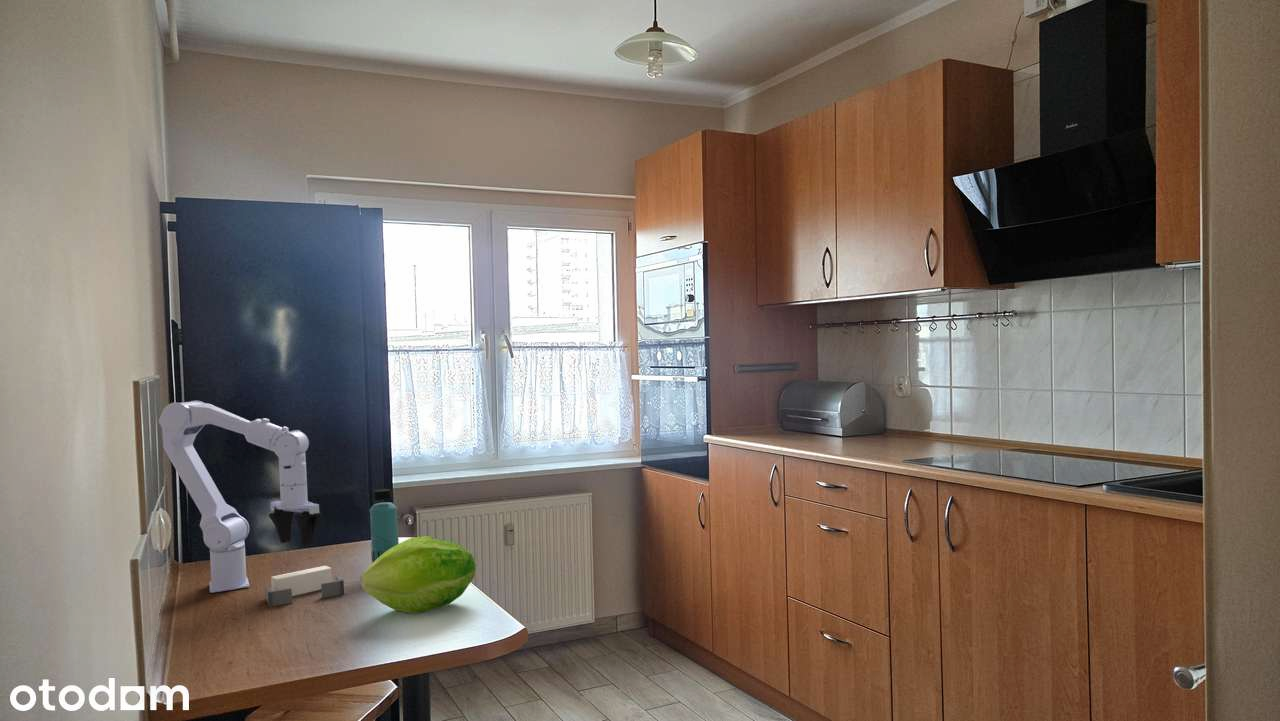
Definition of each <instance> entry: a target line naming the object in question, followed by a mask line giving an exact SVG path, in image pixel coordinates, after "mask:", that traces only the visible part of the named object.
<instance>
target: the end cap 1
mask: <svg viewBox="0 0 1280 721" xmlns="http://www.w3.org/2000/svg"><path fill="white" fill-rule="evenodd" d="M265 590H266V591H265V593H266V594H265V596H266V602H267V605H268V608H270V607H276V606H277V607H278V606H282V605H283V606H284V605H289V604H292V603H293V596H292V589H291V588H288V589H282V590H276V591H272V589H271V585H266V586H265Z"/></svg>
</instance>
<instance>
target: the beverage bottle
mask: <svg viewBox="0 0 1280 721" xmlns="http://www.w3.org/2000/svg"><path fill="white" fill-rule="evenodd" d="M392 498H393V496H392V490H391V489H389V488H382V489H376V490H374V491H373V500H374V501H380V500H381V501H382V500H383V501H384V500H389V499H392ZM397 509H398V507H397V505H395V504H394V503H393V502H378V503H374V504H373V505H372V506H371V507H370V509H369V516H370V521H369V522H370V523H369V525H370V526H369V528H370V529H369V530H370V540H371V543H370V545H371V550H370V551H371V552H370V553H371V555H370V556H371V562H372V563H373V562H374V561H375V560H376V559H377V558H379V557H380V556H381V555H382V554H383V553H385V552H386V551H387V550H389V549H390V548H392V547H394V546H396V545H397V544H399V543H400V541H399V530H398V529H399V527H398V514H397V513H398V510H397ZM372 563H371V564H372Z"/></svg>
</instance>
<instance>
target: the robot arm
mask: <svg viewBox="0 0 1280 721" xmlns="http://www.w3.org/2000/svg"><path fill="white" fill-rule="evenodd" d="M158 421H159V422H158V423H159V425H160V427H161V429H162V432H161V433H162V445H163V449H164V451H165V454H166V455H167V457H168V459H169V460H170V462H171V463H172V465H173V467H174V469H175V471H176V473H177V474H178V476H179V477H180V479H181V481H182V483H183V484H184V486H185V488H186V490H187V492H188V493H189V495H190V497H191V499H192V500H193V502H194V504H195V505H196V507H197V509H198V510H199V512H200V515H201V518H200V522H199V528H200V529H201V531H202V539H203V542H204V545H205V546H206V547H207V548H209V554H210V555H209V558H210V562H209V564H210V581H209V582H208V584H209V585H208V586H209V593H210V594H212V593H219V592H226V591H233V590H239V589H244V588H249V587H250V582H249V578H248V577H247V566H246V564H247V563H246V561H247V560H246V544H245V540H246V538H247V537H248V535H249V533H250V524H249V521H248V520H247V519H246V518H244V517H243V516H241V515H240V513H238V511H237V509H236V507H233V506H231V505H229V504H227V502H226V501H225V499H224V497H223V495H222V494H221V492H220V491H219V489H218V487H217V485H216V483H215V482H214V480H213V477H212V476H211V475H210V473H209V471H208V470H207V468H206V465H205V464H204V462H203V461H202V459H201V458H200V456H199V453H198V452H197V451H196V448H195V447H194V443H195V442H194V441H195V439H196V437H197V435H198V434H199V433H200V431H201V430H202V429H204V427H205V425H214V426H215V427H220V428H222V429H225V430H229V431H232V432H234V433H238V434H241V435H244V437H245V439H246V440H245V441H247V443H249V444H250V443H251V444H252V445H255V446H258V447H261V448H263V449H266V450H269V451H271V452H274V454H275V455H276V456H277V458H278V470H279V471H278V473H279V474H278V476H279V492H280V493H279V494H280V495H279V496H280V500H276V501H275V500H274V501H270V511H272V512H270V513H269V514H268V518H270V520H271V522H272V523H273V525H274V526H275V530H276V531H277V535H278V538H279V541H280V543H282V544H284V543H287V542H291V538H292V524H293V518H294V519H295V520H296V523H297V525H298V528H299V533H300V542H301V544H302V546H309V545H312V544H313V540H314V539H313V538H314V534H315V530H316V528H317V525H318V522H319V520H320V518H321V517H322V513H321V512H320V504H318V503H313V502H312V501H311V502H310V501H309V500H308V481H307V462H306V460H307V458H306V451H307V450H308V448H309V446H310V440H309V437H308V436H307V435H306V434H305V433H304V432H302V431H301V430H299V429H294V430H291V431H290V430H289V427H287V426H283V427H282V426H279V425H276V424H274V423H272V422H270V419H269V418H266V417H265V418H264V417H263V418H256V419H255V420H248V419H247V418H244V417H241V416H239V415H237V414H235V413H232V412H230V411H227V410H225V409H223V408H221V407H218V406H215V405H213V404H212V403H208V402H207V403H206V402H203V401H202V400H201V401H200V400H190V401H185V402H171V403H169V404H167V405H165V406H164V408H163V410H162V412H161V414H160V417H159V418H158ZM295 513H301V514H297V515H295Z"/></svg>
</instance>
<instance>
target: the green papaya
mask: <svg viewBox="0 0 1280 721" xmlns="http://www.w3.org/2000/svg"><path fill="white" fill-rule="evenodd" d="M476 566H477V562H476V560H475V558H474V556H473V554H472V552H471V551H469V550H468V549H467V548H465V547H463V546H462V545H460V544H458V543H457V542H455V541H454V542H453V541H448V540H443V539H437V538H436V537H435V538H434V537H431V536H430V535H421V536H416V537H411V538H408V539H406V540H404V541H402V542H399V544H397V545H396V546H394V547H392V548H390V549H389V550H387V551H386V552H385V553H383V554H382V555H381V556H380V557H379V558H377V559H376V560H375V561H374V562H373V563H371V564H370V565H369V566H368V567H366V568H367V569H365V570H364V572H363V573H362V574H361V576H360V585H361V587H362V589H363V591H365V592H366V593H367V594H368V595H369V596H371V597H372V598H374V599H376V600H377V601H378V602H380V603H381V604H382V605H384V606H386V607H388V608H390V609H392V610H394V611H397V612H400V613H405V614H412V613H414V614H415V613H416V614H417V613H425V612H428V611H431V610H434V609H436V608H437V609H438V608H440V607H443V606H446V605H448V604H449V605H450V604H451V603H453V602H454V601H456V600H457V599H459V598H460V597H461V596H462V595H463V594H464V593H465V591H466V590H467V588H468V587H469V585H470V584H471V583H472V581H473V580H474V578H475V573H476V569H477V568H476Z"/></svg>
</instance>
